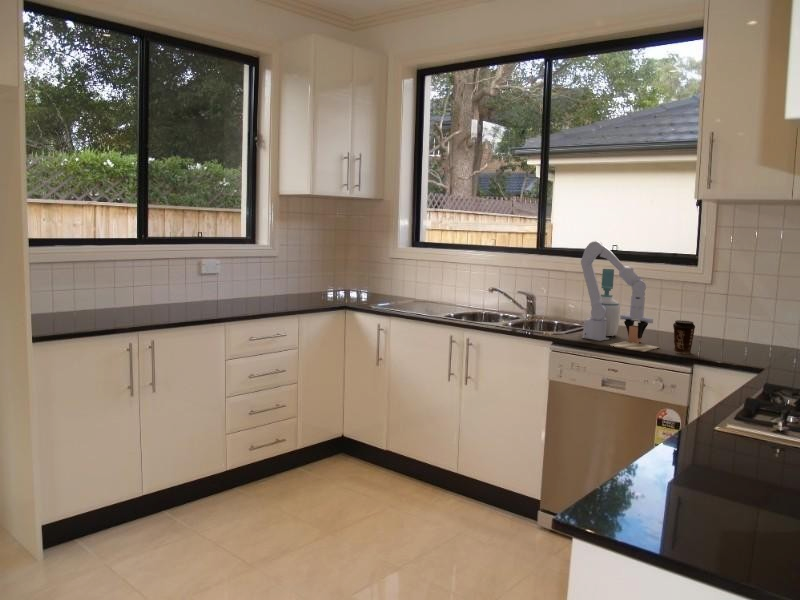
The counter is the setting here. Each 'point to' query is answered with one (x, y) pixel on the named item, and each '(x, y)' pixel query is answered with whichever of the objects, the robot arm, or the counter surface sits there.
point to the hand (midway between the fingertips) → (634, 337)
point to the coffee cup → (683, 336)
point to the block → (633, 334)
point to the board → (634, 346)
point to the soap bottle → (610, 303)
